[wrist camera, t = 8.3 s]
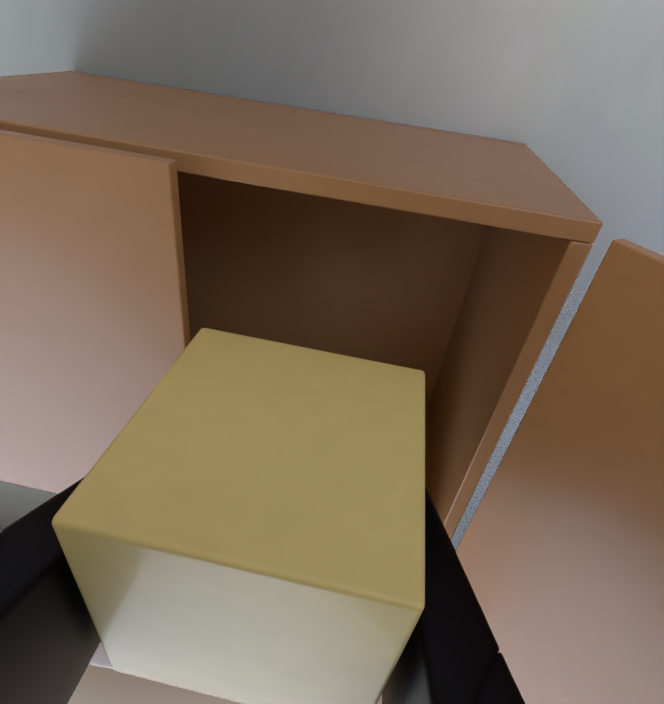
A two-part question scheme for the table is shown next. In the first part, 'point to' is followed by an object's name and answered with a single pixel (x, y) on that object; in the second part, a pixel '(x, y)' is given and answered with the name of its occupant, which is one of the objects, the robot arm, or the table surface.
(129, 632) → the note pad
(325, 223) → the carton
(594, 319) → the flap
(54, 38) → the table surface
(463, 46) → the table surface
